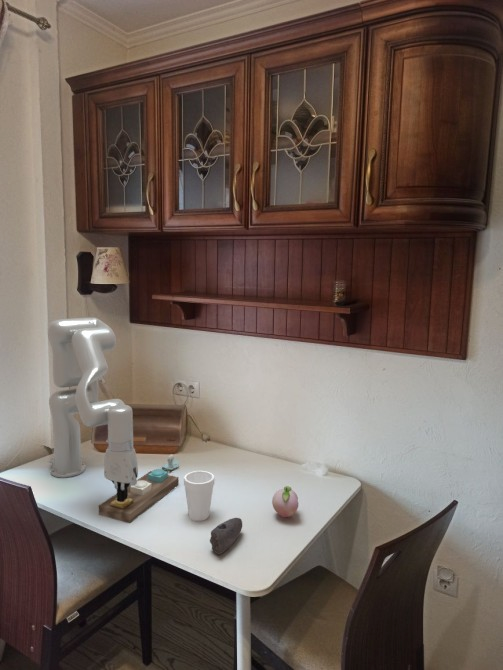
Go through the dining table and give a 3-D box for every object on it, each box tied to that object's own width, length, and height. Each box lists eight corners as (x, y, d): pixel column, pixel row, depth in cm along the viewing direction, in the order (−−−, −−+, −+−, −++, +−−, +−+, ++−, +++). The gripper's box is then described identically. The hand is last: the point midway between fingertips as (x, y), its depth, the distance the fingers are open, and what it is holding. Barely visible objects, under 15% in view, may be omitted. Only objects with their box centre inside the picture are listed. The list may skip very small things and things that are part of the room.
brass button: (110, 511, 151) (110, 501, 151) (120, 504, 156) (120, 494, 155) (123, 515, 149) (123, 504, 149) (133, 507, 154) (133, 497, 153)
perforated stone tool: (234, 529, 145) (234, 508, 144) (249, 534, 142) (249, 513, 141) (204, 554, 132) (204, 531, 131) (219, 561, 129) (219, 537, 128)
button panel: (98, 514, 151) (98, 505, 151) (150, 478, 177) (150, 471, 176) (129, 523, 147) (129, 514, 146) (178, 485, 172) (178, 477, 172)
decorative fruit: (271, 508, 157) (272, 480, 155) (296, 509, 157) (297, 481, 155) (272, 524, 148) (272, 494, 146) (298, 525, 147) (299, 495, 146)
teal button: (148, 482, 169) (148, 473, 169) (156, 477, 174) (156, 467, 173) (160, 485, 167) (159, 475, 167) (167, 479, 172) (167, 470, 171)
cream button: (130, 494, 160) (130, 484, 160) (139, 488, 165) (139, 478, 164) (142, 498, 158) (142, 487, 158) (151, 491, 163) (151, 481, 162)
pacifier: (156, 470, 184) (168, 474, 181) (155, 455, 183) (167, 458, 180) (169, 464, 190) (180, 467, 187) (168, 449, 189) (180, 452, 186)
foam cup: (201, 526, 145) (201, 486, 143) (178, 517, 150) (177, 478, 148) (219, 513, 153) (220, 475, 151) (196, 505, 158) (197, 468, 156)
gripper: (93, 444, 149) (95, 500, 151) (133, 452, 143) (134, 510, 145) (109, 437, 155) (111, 490, 158) (147, 444, 150) (148, 499, 152)
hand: (122, 499), depth 152 cm, fingers closed
